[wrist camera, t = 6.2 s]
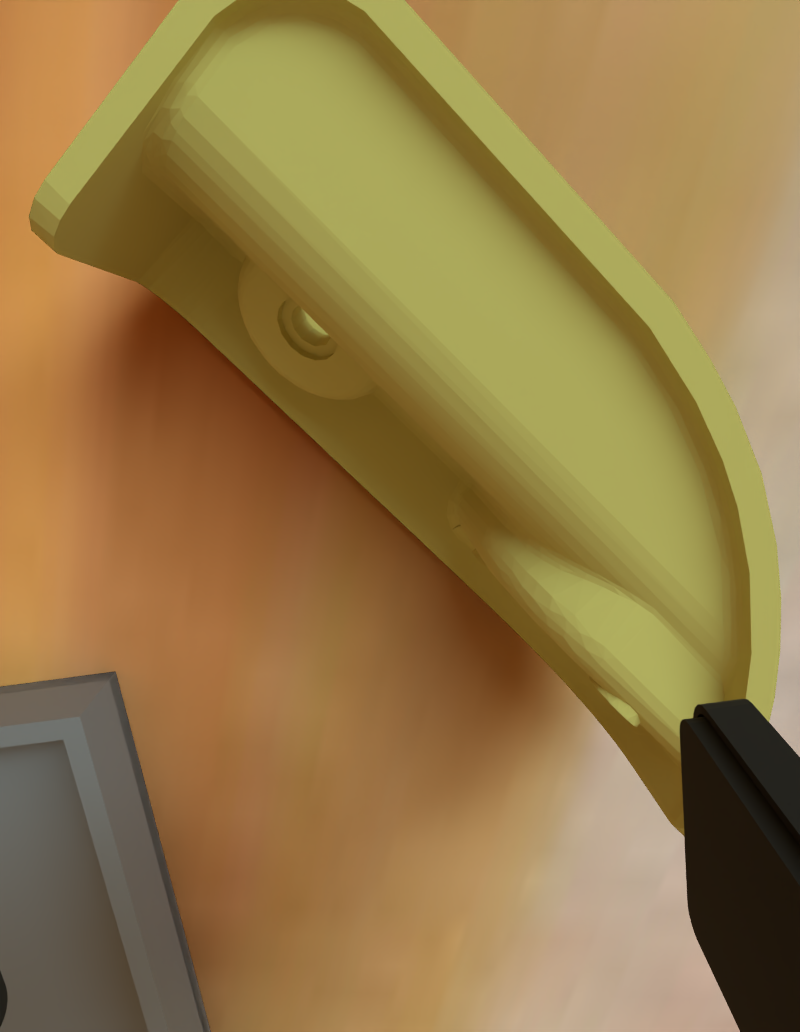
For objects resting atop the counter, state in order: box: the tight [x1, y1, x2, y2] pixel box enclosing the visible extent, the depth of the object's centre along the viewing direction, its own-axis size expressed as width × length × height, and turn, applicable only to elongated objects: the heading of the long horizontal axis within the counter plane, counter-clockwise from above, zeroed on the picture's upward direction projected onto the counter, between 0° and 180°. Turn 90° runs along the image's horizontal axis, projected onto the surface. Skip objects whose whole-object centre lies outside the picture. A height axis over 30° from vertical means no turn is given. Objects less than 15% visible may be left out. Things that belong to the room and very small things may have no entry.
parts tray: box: [0, 672, 211, 1032], centre depth 28 cm, size 24×12×3 cm, turn 8°
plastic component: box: [29, 0, 781, 835], centre depth 19 cm, size 20×7×10 cm, turn 46°
